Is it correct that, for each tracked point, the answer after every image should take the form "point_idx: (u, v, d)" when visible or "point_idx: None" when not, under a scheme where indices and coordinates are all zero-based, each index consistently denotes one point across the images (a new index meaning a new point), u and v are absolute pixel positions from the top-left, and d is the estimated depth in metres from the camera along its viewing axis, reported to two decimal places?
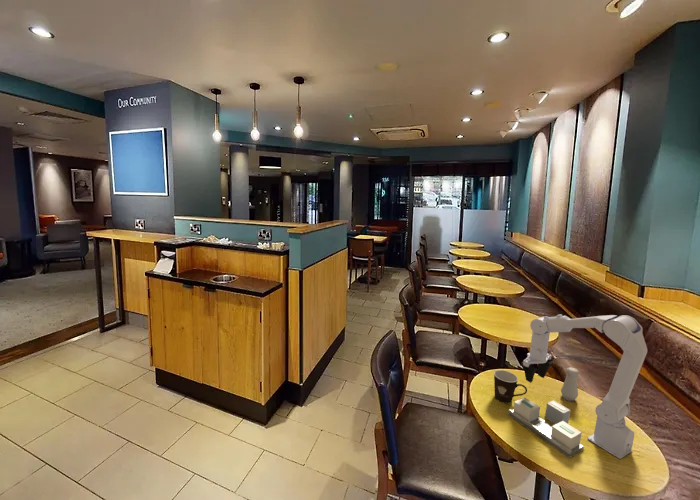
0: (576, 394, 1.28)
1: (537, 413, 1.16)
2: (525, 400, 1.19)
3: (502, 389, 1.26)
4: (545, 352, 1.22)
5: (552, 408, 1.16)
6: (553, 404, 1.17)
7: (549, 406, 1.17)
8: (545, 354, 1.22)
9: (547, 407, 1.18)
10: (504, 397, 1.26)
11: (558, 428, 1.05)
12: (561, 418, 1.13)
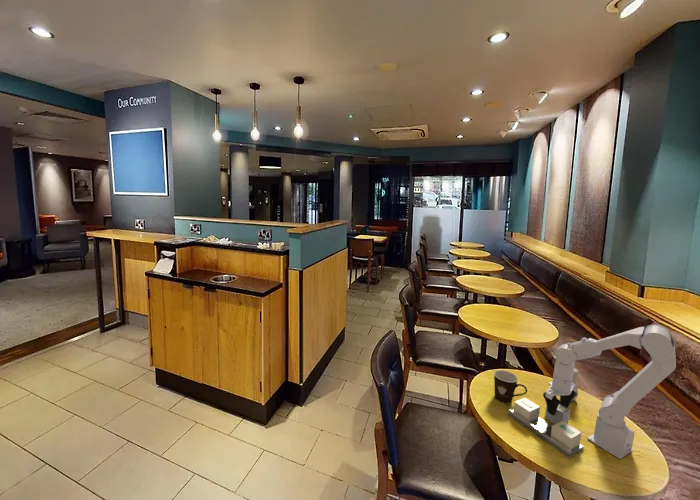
0: None
1: (537, 413, 1.16)
2: (525, 400, 1.19)
3: (502, 389, 1.26)
4: (570, 383, 1.11)
5: None
6: None
7: None
8: (570, 385, 1.12)
9: None
10: (504, 397, 1.26)
11: (558, 428, 1.05)
12: (561, 418, 1.13)
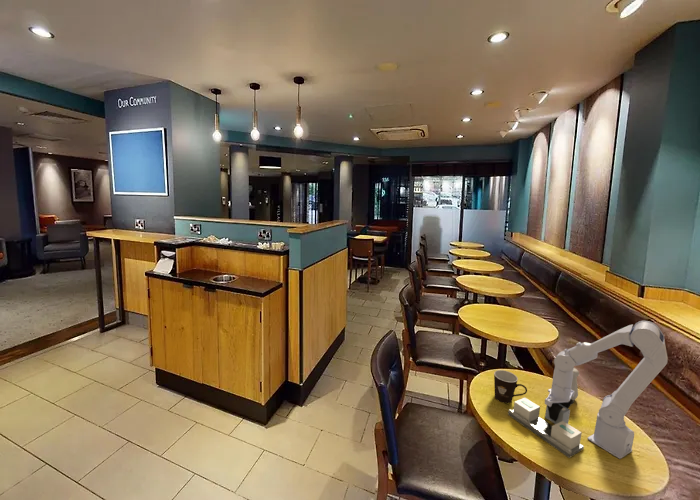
0: (576, 394, 1.28)
1: (537, 413, 1.16)
2: (525, 400, 1.19)
3: (502, 389, 1.26)
4: (569, 390, 1.12)
5: None
6: None
7: None
8: (569, 392, 1.12)
9: (547, 407, 1.18)
10: (504, 397, 1.26)
11: (558, 428, 1.05)
12: (561, 418, 1.13)
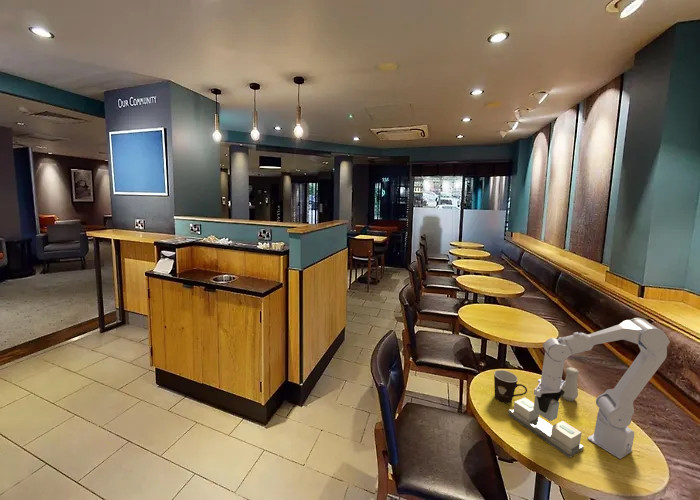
0: (576, 394, 1.28)
1: None
2: (525, 400, 1.19)
3: (502, 389, 1.26)
4: (559, 380, 1.06)
5: None
6: None
7: None
8: (559, 382, 1.06)
9: (535, 400, 1.12)
10: (504, 397, 1.26)
11: (558, 428, 1.05)
12: (549, 411, 1.08)
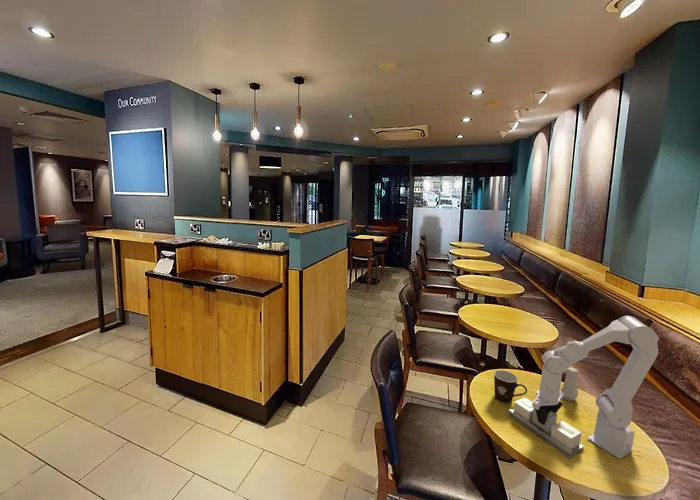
0: (576, 394, 1.28)
1: None
2: (525, 400, 1.19)
3: (502, 389, 1.26)
4: (557, 392, 1.07)
5: None
6: None
7: (535, 410, 1.12)
8: (557, 395, 1.07)
9: (534, 411, 1.13)
10: (504, 397, 1.26)
11: (558, 428, 1.05)
12: (548, 423, 1.08)
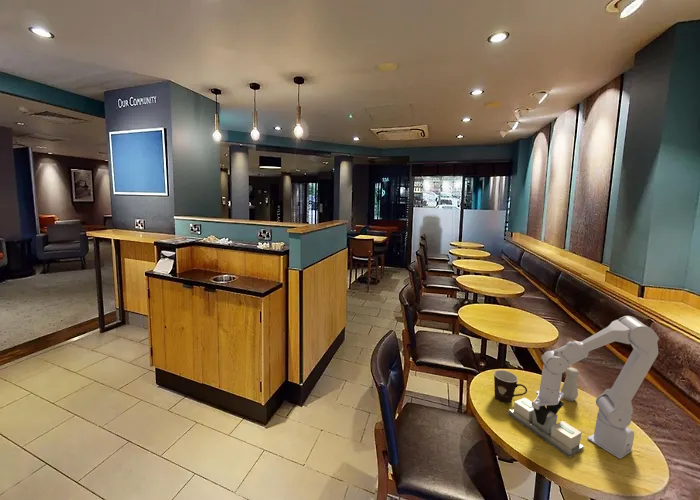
0: (576, 394, 1.28)
1: None
2: (525, 400, 1.19)
3: (502, 389, 1.26)
4: (557, 392, 1.07)
5: None
6: None
7: None
8: (557, 395, 1.07)
9: (534, 412, 1.13)
10: (504, 397, 1.26)
11: (558, 428, 1.05)
12: (548, 424, 1.08)
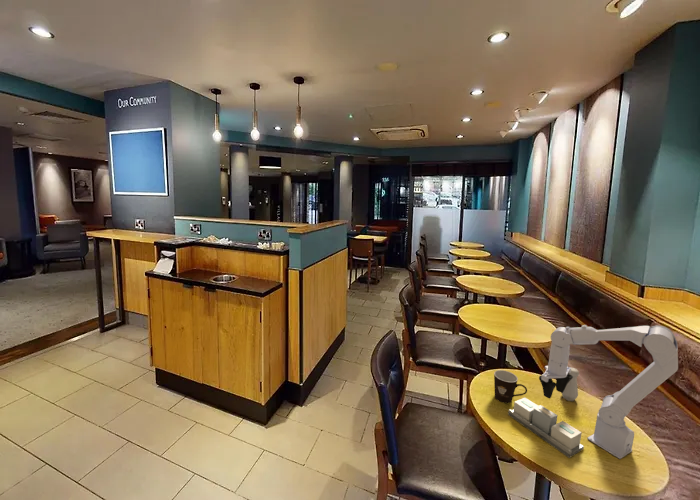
0: (576, 394, 1.28)
1: None
2: (525, 400, 1.19)
3: (502, 389, 1.26)
4: (565, 366, 1.12)
5: (539, 413, 1.11)
6: (540, 409, 1.12)
7: (535, 411, 1.12)
8: (565, 368, 1.12)
9: (534, 412, 1.13)
10: (504, 397, 1.26)
11: (558, 428, 1.05)
12: (548, 424, 1.08)
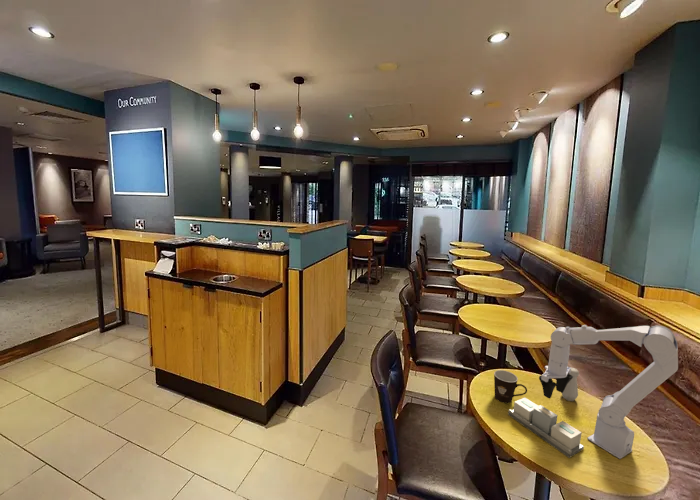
0: (576, 394, 1.28)
1: None
2: (525, 400, 1.19)
3: (502, 389, 1.26)
4: (565, 366, 1.12)
5: (539, 413, 1.11)
6: (540, 409, 1.12)
7: (535, 411, 1.12)
8: (565, 368, 1.12)
9: (534, 412, 1.13)
10: (504, 397, 1.26)
11: (558, 428, 1.05)
12: (548, 424, 1.08)
